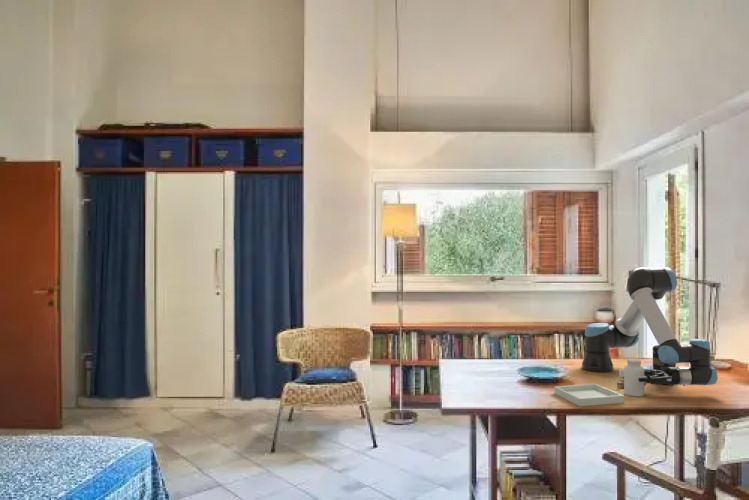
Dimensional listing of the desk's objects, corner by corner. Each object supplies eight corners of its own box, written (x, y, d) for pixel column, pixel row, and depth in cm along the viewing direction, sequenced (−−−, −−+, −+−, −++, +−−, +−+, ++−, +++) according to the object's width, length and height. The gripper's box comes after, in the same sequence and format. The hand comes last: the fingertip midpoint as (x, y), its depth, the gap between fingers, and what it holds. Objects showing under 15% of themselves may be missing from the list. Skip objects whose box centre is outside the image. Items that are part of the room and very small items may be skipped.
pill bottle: (635, 397, 236) (634, 362, 236) (619, 393, 243) (619, 359, 243) (648, 395, 239) (648, 360, 239) (633, 391, 247) (632, 357, 246)
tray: (554, 393, 245) (554, 386, 245) (595, 390, 249) (595, 383, 249) (579, 406, 225) (579, 398, 225) (624, 402, 229) (624, 395, 229)
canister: (678, 385, 255) (678, 346, 254) (656, 385, 256) (655, 345, 256) (672, 380, 264) (671, 342, 264) (650, 379, 266) (650, 342, 266)
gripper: (690, 391, 228) (635, 391, 230) (664, 378, 252) (614, 378, 253) (690, 373, 228) (635, 373, 230) (664, 361, 252) (614, 361, 253)
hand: (624, 375), depth 242 cm, fingers open, 11 cm apart
